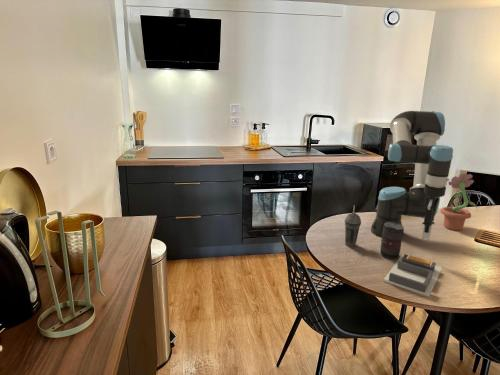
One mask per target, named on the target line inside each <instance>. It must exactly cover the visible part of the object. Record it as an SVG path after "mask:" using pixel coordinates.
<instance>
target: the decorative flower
mask: <svg viewBox="0 0 500 375" xmlns="http://www.w3.org/2000/svg"><path fill="white" fill-rule="evenodd" d="M473 176H474V175H472V174H471V173H469V174H467V173H461V174H459V176H456V175H455V176H453V177H452V178H451V179H450V180H449V181H447V184H448V186H451V187H452V189H460V191H461V192H458V193H457V194H454V196H453V198H459V197H460V196H461V195H462V199H463V204H462V205H455V206H444V207H442V208H441V209H440V213H441V214H442V215H443V226H444V227H445V229H448V230H452V231H461V230H462V229H463V228H464V225H465V222H466V220H468V219H471V218H472V213H471V212H470V211H469V210H467V209H465V208H467V206H468V205H471V206H472V207H473V206H474V207H476V206H477V204H475V203H474V202H473V201H469V198H468V195H467V192H466V188H468V187H470V186H471V185H473V183H475V181H474V179H472V178H473Z"/></svg>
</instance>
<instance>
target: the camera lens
mask: <svg viewBox="0 0 500 375" xmlns="http://www.w3.org/2000/svg"><path fill="white" fill-rule="evenodd" d="M404 229H405V227H404V225H403V224H402V225H400V224H397V223H393V222H387V223H385V224H384V227H383V233H382V237H381V242H380V243H381V244H380V254H381V256H382V257H383V258H385V259H389V260H396V259H397V260H398V259H399V256H400V254H401V253H400V252H401V246H402V243H403V242H402V241H403V237H404Z"/></svg>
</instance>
